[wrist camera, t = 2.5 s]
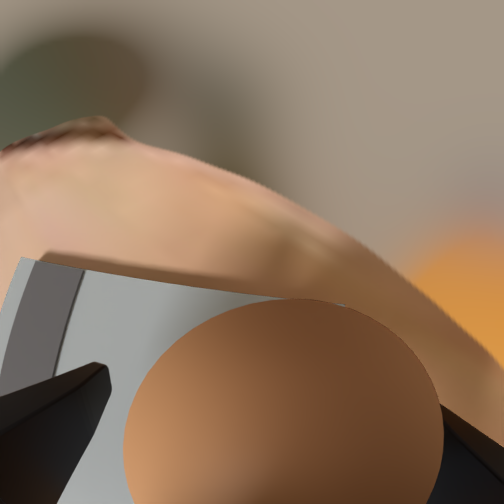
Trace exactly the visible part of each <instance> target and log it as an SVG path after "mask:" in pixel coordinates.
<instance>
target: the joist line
mask: <svg viewBox="0 0 504 504" xmlns="http://www.w3.org/2000/svg"><path fill="white" fill-rule="evenodd" d="M84 272H85V271H84V270H81V269H75V268H70V267H65V266H60V265H54V264H49V263H44V262H39V261H35V263H34V266H33V268H32V271H31V273H30V276H29V279H28V281H27V284H26V287H25V289H24V292H23V295H22V298H21V301H20V304H19V307H18V310H17V313H16V316H15V319H14V322H13V326H12V329H11V333H10V336H9V340H8V344H7V347H6V351H5V355H4V360H3V364H2V368H1V373H0V396H3V395H6V394H9V393H11V392H14V391H17V390H20V389H23V388H25V387H28V386H31V385H34V384H36V383H39V382H42V381H44V380H47V379H50V378H52V377H54V375H55V370H56V366H57V362H58V358H59V354H60V350H61V346H62V342H63V338H64V335H65V331H66V327H67V324H68V321H69V317H70V314H71V311H72V307H73V304H74V301H75V298H76V295H77V292H78V289H79V286H80V283H81V280H82V278H83V275H84Z"/></svg>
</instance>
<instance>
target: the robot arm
mask: <svg viewBox="0 0 504 504" xmlns="http://www.w3.org/2000/svg"><path fill="white" fill-rule="evenodd" d="M111 392H112V384H111V379H110V373H109V368H108V366H107V365H105V364H102V363H99V362H91V363H89V364H86V365H83V366H81V367H78V368H76V369H73V370H71V371H68V372H65V373H63V374H60V375H58V376H55V377H52V378H50V379H47V380H44V381H42V382H39V383H36V384H34V385H31V386H28V387H25V388H23V389H20V390H17V391H14V392H11V393H9V394H6V395H3V396H0V504H57V503H58V501H59V499H60V497H61V495H62V493H63V491H64V489H65V487H66V485H67V484H68V482H69V480H70V478H71V476H72V474H73V472H74V470H75V469H76V467H77V465H78V463H79V461H80V459H81V458H82V456H83V454H84V452H85V450H86V448H87V447H88V445H89V443H90V441H91V439H92V437H93V436H94V434H95V431H96V429H97V427H98V424H99V422H100V419H101V417H102V414H103V412H104V410H105V407H106V405H107V403H108V400H109V398H110V396H111ZM440 408H441V412H442V418H443V429H444V441H443V454H442V460H441V465H440V470H439V473H438V476H437V479H436V482H435V485H434V488H433V490H432V492H431V494H430V496H429V498H428V501H427V503H426V504H504V447H502V446H501V445H499V444H498V443H496V442H495V441H493V440H492V439H490V438H489V437H488V436H486V435H485V434H483V433H482V432H480V431H479V430H477V429H476V428H475V427H473V426H472V425H470V424H469V423H467V422H466V421H464V420H463V419H462V418H460V417H459V416H457V415H456V414H454V413H453V412H452V411H450V410H449V409H447V408H446V407H444V406H443V405H442V404H440Z"/></svg>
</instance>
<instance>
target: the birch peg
mask: <svg viewBox="0 0 504 504" xmlns="http://www.w3.org/2000/svg"><path fill="white" fill-rule="evenodd" d="M443 441H444V429H443V418H442V412H441V408H440V403H439V399H438V396H437V393H436V391H435V388H434V386H433V383H432V381H431V379H430V377H429V375H428V373H427V371H426V370H425V368H424V366H423V365H422V363H421V362H420V360H419V359H418V358H417V356H416V355H415V354H414V352H413V351H412V350H411V349H410V348H409V347H408V346H407V345H406V344H405V343H404V342H403V341H402V340H401V339H400V338H399V337H398V336H397V335H395V334H394V333H393V332H392V331H390V330H389V329H388V328H386V327H385V326H384V325H382V324H380V323H379V322H377V321H375V320H373V319H372V318H370V317H368V316H366V315H364V314H362V313H359V312H357V311H355V310H352V309H350V308H346V307H343V306H340V305H336V304H333V303H328V302H322V301H316V300H306V299H279V300H269V301H263V302H257V303H251V304H248V305H245V306H241V307H238V308H234V309H231V310H229V311H226V312H224V313H222V314H219V315H217V316H215V317H212V318H210V319H209V320H207V321H205V322H203V323H202V324H200V325H198V326H196V327H195V328H193V329H192V330H190V331H189V332H188V333H186V334H185V335H184V336H182V337H181V338H180V339H178V340H177V341H176V342H175V343H174V344H173V345H172V346H171V347H170V348H169V349H167V350H166V351H165V352H164V353H163V354H162V355H161V356H160V358H159V359H158V360H157V361H156V363H155V364H154V365H153V366H152V368H151V369H150V370H149V372H148V373H147V375H146V376H145V378H144V380H143V381H142V383H141V385H140V386H139V388H138V390H137V392H136V395H135V397H134V399H133V402H132V404H131V407H130V409H129V413H128V417H127V421H126V425H125V431H124V441H123V460H124V470H125V475H126V480H127V484H128V488H129V491H130V493H131V496H132V499H133V501H134V504H426V503H427V501H428V498H429V496H430V494H431V492H432V490H433V488H434V485H435V482H436V479H437V476H438V473H439V470H440V465H441V460H442V454H443Z"/></svg>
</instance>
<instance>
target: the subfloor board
mask: <svg viewBox="0 0 504 504" xmlns="http://www.w3.org/2000/svg"><path fill="white" fill-rule="evenodd" d="M35 261H38V260H33V259H28V258H24V257H21V258H20V261H19V263H18V266H17V268H16V271H15V273H14V276H13V278H12V281H11V283H10V286H9V289H8V292H7V294H6V297H5V300H4V303H3V306H2V309H1V312H0V373H1V368H2V364H3V360H4V355H5V351H6V347H7V344H8V340H9V336H10V333H11V329H12V326H13V322H14V319H15V316H16V313H17V310H18V307H19V304H20V301H21V298H22V295H23V292H24V289H25V287H26V284H27V281H28V279H29V276H30V273H31V271H32V268H33V266H34V263H35ZM39 262H43V261H39ZM44 263H48V262H44ZM49 264H53V263H49ZM54 265H59V264H54ZM60 266H64V265H60ZM65 267H69V266H65ZM70 268H74V267H70ZM75 269H80V268H75ZM81 270H84V271H85V272H84V275H83V278H82V280H81V283H80V286H79V289H78V292H77V295H76V298H75V301H74V304H73V307H72V311H71V314H70V317H69V321H68V324H67V327H66V331H65V335H64V338H63V342H62V346H61V350H60V354H59V358H58V362H57V366H56V370H55V375H54V377H55V376H58V375H60V374H63V373H65V372H68V371H71V370H73V369H76V368H78V367H81V366H83V365H86V364H89V363H91V362H99V363H102V364H105V365H107V366H108V368H109V373H110V379H111V384H112V392H111V396H110V398H109V400H108V403H107V405H106V407H105V410H104V412H103V414H102V417H101V419H100V422H99V424H98V427H97V429H96V431H95V434H94V436H93V437H92V439H91V441H90V443H89V445H88V447H87V448H86V450H85V452H84V454H83V456H82V458H81V459H80V461H79V463H78V465H77V467H76V469H75V470H74V472H73V474H72V476H71V478H70V480H69V482H68V484H67V485H66V487H65V489H64V491H63V493H62V495H61V497H60V499H59V501H58V503H57V504H134V501H133V499H132V496H131V493H130V491H129V488H128V484H127V480H126V475H125V470H124V460H123V441H124V431H125V425H126V421H127V417H128V413H129V409H130V407H131V404H132V402H133V399H134V397H135V395H136V392H137V390H138V388H139V386H140V385H141V383H142V381H143V380H144V378H145V376H146V375H147V373H148V372H149V370H150V369H151V368H152V366H153V365H154V364H155V363H156V361H157V360H158V359H159V358H160V356H161V355H162V354H163V353H164V352H165V351H166V350H167V349H169V348H170V347H171V346H172V345H173V344H174V343H175V342H176V341H177V340H178V339H180V338H181V337H182V336H184V335H185V334H186V333H188V332H189V331H190V330H192V329H193V328H195V327H196V326H198V325H200V324H202V323H203V322H205V321H207V320H209V319H210V318H212V317H215V316H217V315H219V314H222V313H224V312H226V311H229V310H231V309H234V308H238V307H241V306H245V305H248V304H251V303H257V302H263V301H269V300H279V299H286V298H277V297H268V296H260V295H251V294H243V293H235V292H228V291H220V290H213V289H205V288H198V287H191V286H184V285H177V284H170V283H164V282H157V281H151V280H144V279H138V278H132V277H126V276H120V275H114V274H108V273H102V272H97V271H91V270H85V269H81ZM333 304H335V303H333ZM336 305H340V306H343V307H345V304H336Z"/></svg>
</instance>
